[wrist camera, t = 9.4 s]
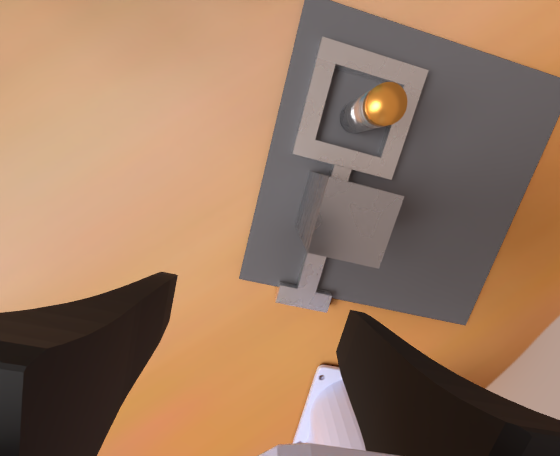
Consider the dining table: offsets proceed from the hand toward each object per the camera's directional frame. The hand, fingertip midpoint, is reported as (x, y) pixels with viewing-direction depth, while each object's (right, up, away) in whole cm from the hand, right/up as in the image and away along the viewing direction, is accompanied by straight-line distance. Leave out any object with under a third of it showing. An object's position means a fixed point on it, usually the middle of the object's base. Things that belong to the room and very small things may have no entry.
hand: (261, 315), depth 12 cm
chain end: (+4, +5, +9) cm, 11 cm away
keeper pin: (+6, +11, +8) cm, 14 cm away
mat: (+9, +7, +9) cm, 15 cm away
